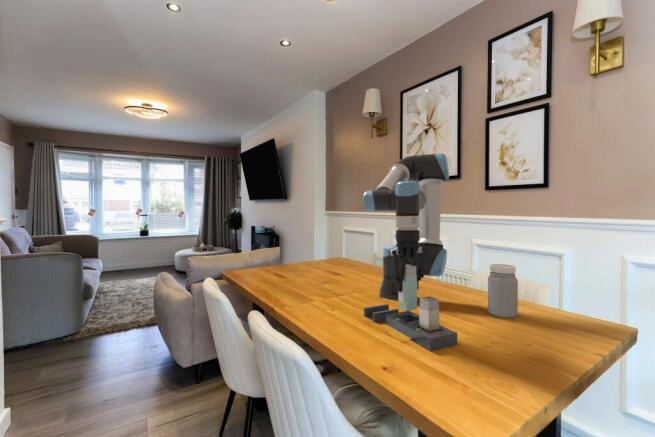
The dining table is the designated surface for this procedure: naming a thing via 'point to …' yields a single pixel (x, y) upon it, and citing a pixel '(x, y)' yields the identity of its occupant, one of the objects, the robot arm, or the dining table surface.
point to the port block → (423, 326)
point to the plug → (410, 289)
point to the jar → (503, 291)
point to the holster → (378, 312)
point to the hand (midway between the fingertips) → (407, 300)
